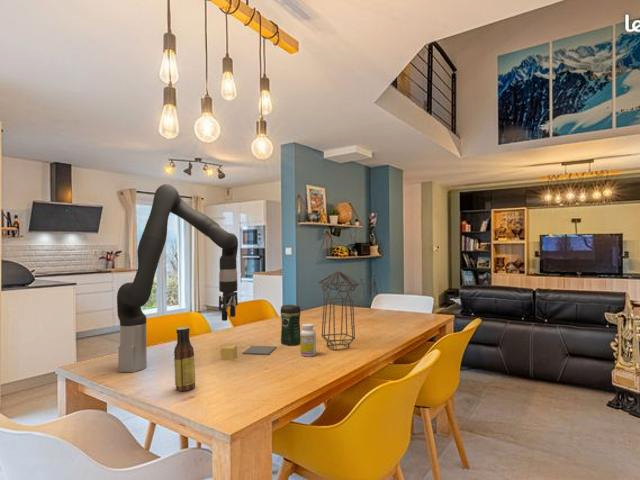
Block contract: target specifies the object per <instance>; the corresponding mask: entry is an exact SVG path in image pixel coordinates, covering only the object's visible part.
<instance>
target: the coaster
mask: <svg viewBox="0 0 640 480" xmlns="http://www.w3.org/2000/svg"><path fill="white" fill-rule="evenodd" d="M275 349H277V345H276V346H274V345H251V346H250V347H248V348H246V349H245V350H244V351H242V353H241V354H242V355H256V356H257V355H259V356H261V355H263V356H266V355H267V356H268V355H270V354H271V353H272V352H274V351H275Z"/></svg>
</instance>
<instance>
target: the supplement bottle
mask: <svg viewBox="0 0 640 480" xmlns="http://www.w3.org/2000/svg"><path fill="white" fill-rule="evenodd" d="M301 328H302V330H300V344H299V345H300V355H301V356H302V357H308V358H309V357H314V356H316V354H317V340H316V339H317V337H316V335H317V334H316V331H315V330H314V324H313V323H304V324H302V326H301Z"/></svg>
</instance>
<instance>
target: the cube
mask: <svg viewBox="0 0 640 480" xmlns="http://www.w3.org/2000/svg"><path fill="white" fill-rule="evenodd" d="M237 358H238V345H237V344H236V345H235V344H234V345H232V344H231V345H230V344H229V345H228V344H226V345H224V346H223V347H220V361H229V362H230V361H234V360H236V359H237Z"/></svg>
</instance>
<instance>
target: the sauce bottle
mask: <svg viewBox="0 0 640 480" xmlns="http://www.w3.org/2000/svg"><path fill="white" fill-rule="evenodd" d="M190 331H191V330H190V327H189V326H182V327H181V326H180V327H177V328H176V334H177V335H176V336H177V342H176V344H175V347H174V350H173V353H174V354H173V355H174V359H173V363H174V383H175V384H174V385H175V389H176V391H177V392H187V391H190V390H193V389H194V388H195V387H196V370H195V367H196V366H195V365H196V363H195V353H194V352H195V351H194V347H193V345H192V343H191V341H190Z"/></svg>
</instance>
